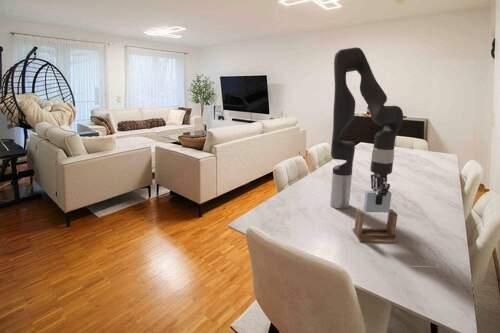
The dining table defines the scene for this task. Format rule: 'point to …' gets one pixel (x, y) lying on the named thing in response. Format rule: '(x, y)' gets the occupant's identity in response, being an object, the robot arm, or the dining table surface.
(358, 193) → the dining table surface
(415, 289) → the dining table surface
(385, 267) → the dining table surface
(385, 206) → the door panel
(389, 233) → the frame
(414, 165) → the dining table surface
